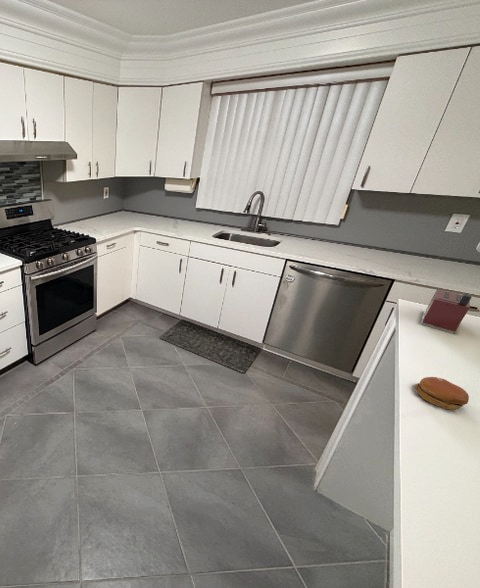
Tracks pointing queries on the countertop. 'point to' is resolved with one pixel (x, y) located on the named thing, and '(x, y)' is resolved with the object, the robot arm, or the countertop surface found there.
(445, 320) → the toaster
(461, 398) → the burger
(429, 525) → the countertop surface
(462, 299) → the browning slider
